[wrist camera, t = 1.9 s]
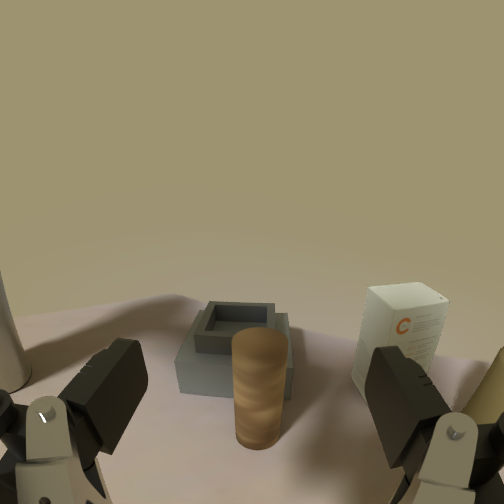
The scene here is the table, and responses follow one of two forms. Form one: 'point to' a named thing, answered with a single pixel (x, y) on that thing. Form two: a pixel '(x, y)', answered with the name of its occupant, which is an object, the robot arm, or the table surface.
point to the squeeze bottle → (488, 394)
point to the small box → (399, 325)
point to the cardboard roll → (258, 385)
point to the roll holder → (224, 346)
